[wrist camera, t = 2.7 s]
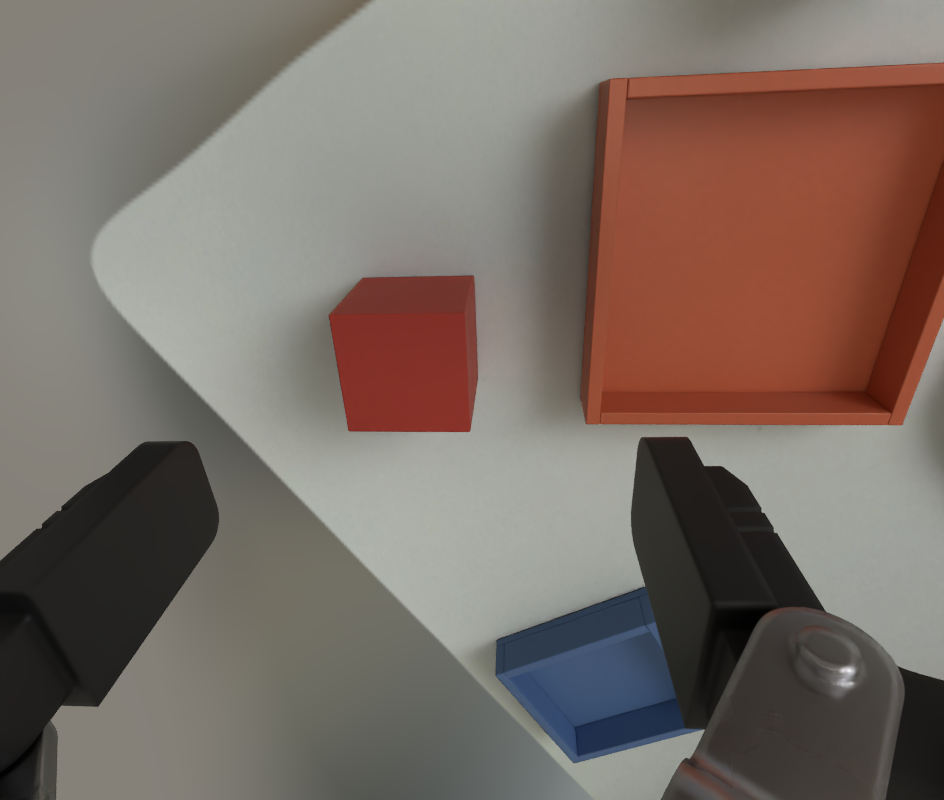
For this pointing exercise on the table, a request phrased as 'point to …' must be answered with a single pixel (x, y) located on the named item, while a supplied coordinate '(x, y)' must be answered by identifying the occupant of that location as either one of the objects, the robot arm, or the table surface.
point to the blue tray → (595, 678)
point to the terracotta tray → (765, 246)
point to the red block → (407, 353)
